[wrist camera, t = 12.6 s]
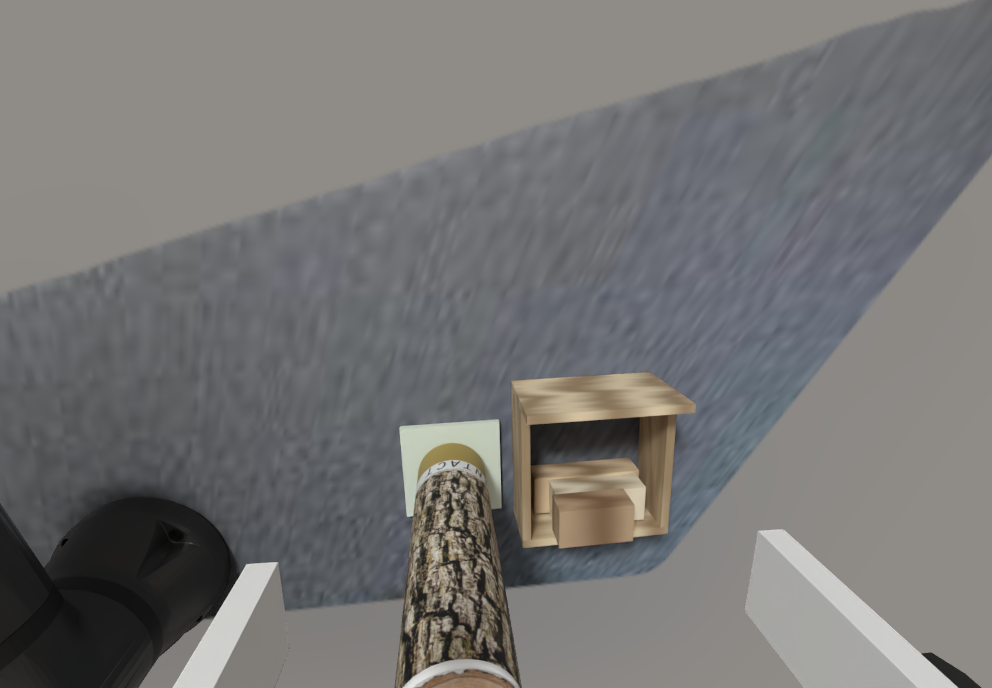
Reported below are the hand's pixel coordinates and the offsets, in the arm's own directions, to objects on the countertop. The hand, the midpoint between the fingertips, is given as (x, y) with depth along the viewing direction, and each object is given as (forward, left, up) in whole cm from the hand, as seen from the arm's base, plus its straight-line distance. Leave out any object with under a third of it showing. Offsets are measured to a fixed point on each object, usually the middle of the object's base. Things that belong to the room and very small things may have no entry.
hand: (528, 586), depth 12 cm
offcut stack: (+11, -17, -33) cm, 39 cm away
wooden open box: (+11, -13, -33) cm, 37 cm away
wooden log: (-2, -15, -33) cm, 36 cm away
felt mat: (-2, -15, -33) cm, 36 cm away
